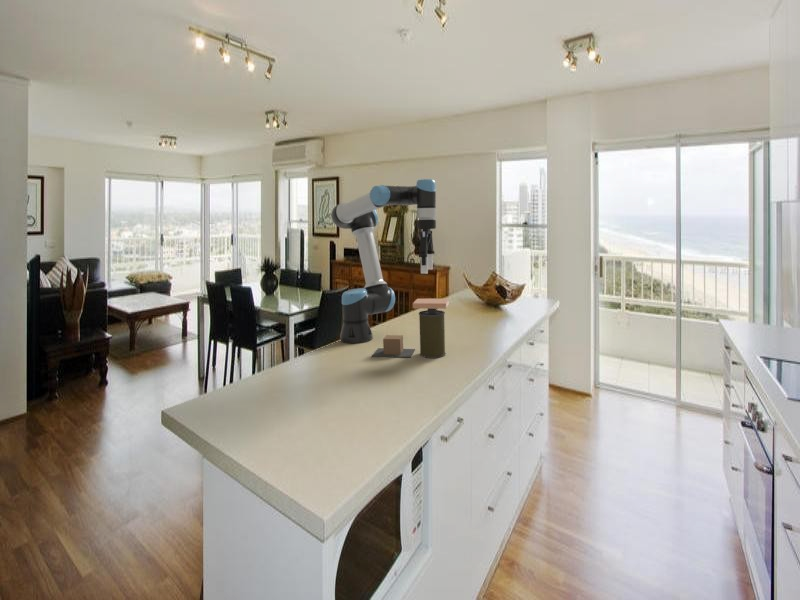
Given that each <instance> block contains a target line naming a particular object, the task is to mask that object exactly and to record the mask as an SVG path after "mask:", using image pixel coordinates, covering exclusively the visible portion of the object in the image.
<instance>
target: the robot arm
mask: <svg viewBox="0 0 800 600" xmlns="http://www.w3.org/2000/svg"><path fill="white" fill-rule="evenodd" d="M436 191H437V189H436V181H435V180H434V179H431V178H430V179H429V178H428V179H427V178H422V179H418V180H417V181H416V185H413V186H405V185H403V186H402V185H401V186H400V185H383V184H379V185H373V187H372V188H371V189H370V191H369V192H367V193H365V194H364V195H361V196H359V197H357V198H355V199H353V200H350V201H349V202H340V203H338V204H337V205H335V206H334V207H333V208H332V211H331V214H330V216H331V221H332V222H333V224H334V225H335V226H337V227H338V228H340V229H345V230H347V229H349V230H350V231H351V234H352V235H353V236H355V238H356V242H357V249H358V252H359V258H360V263H361V265H362V266H361V267H362V272H363V276H364V280H365V281H364V282H365V285H364V287H358V288H351V289H348V290H346V291H343V293H342V295H341V303H340V304H341V311H342V312H341V313H342V327H341V331H340V335H339V339H340V341H341V342H342V343H346V344H359V343H365V342H369V341H371V340H372V339H373V331H372V329H371V326H370V324H369V317H368V316H371V315H375V314H376V315H377V314H382V313H386V312H389V311H391V310H392V309H393V308H394V306H395V303H396V295H395V291H394V290H393V289H392V287H389V286H388V283H387V282H386V281H385V280H384V277H383V273H382V268H381V264H380V263H381V262H380V259H379V255H378V249H377V244H376V240H375V236H374V232H375V230H376V227H377V225H378V223H379V222H378V221H379V215H378V213H377V210H379V209H381V208H384V207H387V206H407V207H408V206H412V205H413V206H415V205H416V209H417V210H416V211H415V213H416V214H417V215H416V216H417V217H416V218H417V219H418V220H417V221H416V222H417V223H416V224H417V225H416V226H417V229H418V230H422V231H420V241H419V242H420V245H419V254H418V258H420V274H425V275H426V274H427V275H428V273H429V270H433V269H434V262H433V261H434V256H433V255H435V250H434V244H433V231H432V230H434V229H436V228H437V220H436V218H437V207H436V205H437V204H436V199H437V197H436V196H437V195H436Z"/></svg>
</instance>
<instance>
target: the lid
mask: <svg viewBox="0 0 800 600" xmlns="http://www.w3.org/2000/svg"><path fill="white" fill-rule="evenodd" d="M449 304H450V298H416V299H415V300H414V301H413V302H412V309H427V310H428V309H438V310H439V309H443V310H444V309H447V308H448V306H449Z"/></svg>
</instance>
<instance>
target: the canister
mask: <svg viewBox="0 0 800 600" xmlns="http://www.w3.org/2000/svg"><path fill="white" fill-rule="evenodd" d="M418 316H419V317H418V318H419V345H420V346H419V349H420V351H419V352H420V353H419V355H420V356H421V357H422V358H426V359H438V358H442V357H444V356H446V341H445V340H446V339H445V337H446V336H445V335H446V334H445V331H446V327H445V311H444V310H439V309H427V310H421V311H419V312H418Z"/></svg>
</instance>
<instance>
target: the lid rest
mask: <svg viewBox="0 0 800 600" xmlns="http://www.w3.org/2000/svg"><path fill="white" fill-rule="evenodd" d="M382 341H383V342H382V343H383V347H382V348H380V347H378V348H377V349H376V350H375V351H374V352H373V354H371V358H389V359H390V358H392V359H395V358H397V359H398V358H400V359H411V358H412V356H413V355H414V352H415V351H416V349H415V348H404V335H399V334H398V335H397V334H396V335H395V334H391V335H390V334H386V335H384V338H382Z"/></svg>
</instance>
